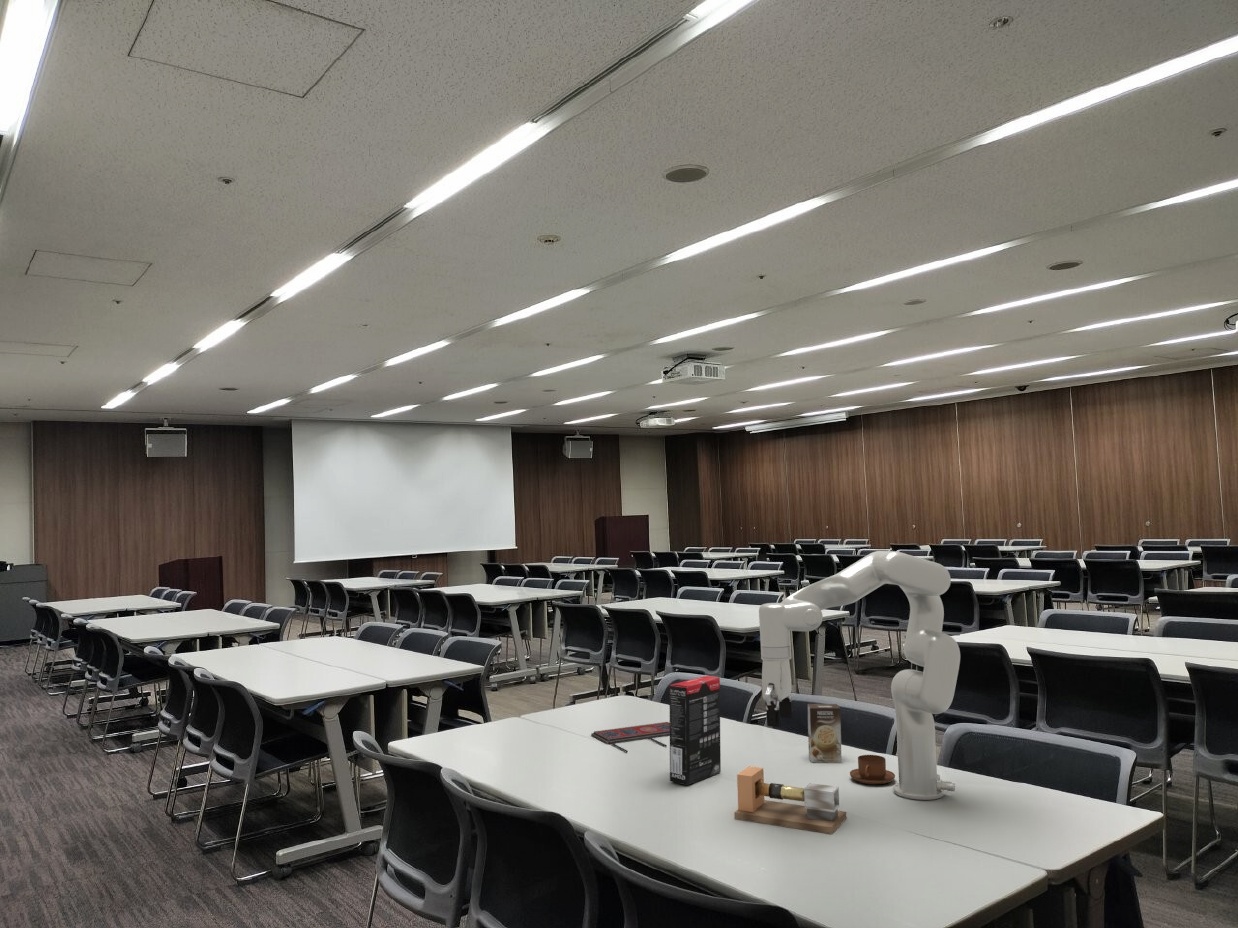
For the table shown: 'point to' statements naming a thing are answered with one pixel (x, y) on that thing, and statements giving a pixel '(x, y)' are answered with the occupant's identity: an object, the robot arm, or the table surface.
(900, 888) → the table surface
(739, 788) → the socket
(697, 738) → the graphics card box
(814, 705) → the coffee box
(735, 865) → the table surface
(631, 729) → the sign
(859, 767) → the cup and saucer
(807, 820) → the rig
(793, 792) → the brass tube
